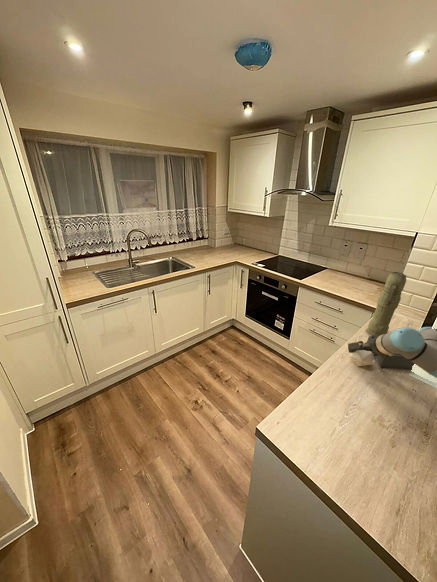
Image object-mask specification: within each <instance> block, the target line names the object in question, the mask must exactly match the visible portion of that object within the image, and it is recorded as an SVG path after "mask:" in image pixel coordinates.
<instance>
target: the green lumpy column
mask: <svg viewBox="0 0 437 582" xmlns="http://www.w3.org/2000/svg"><path fill="white" fill-rule="evenodd" d="M406 284H407V275H406V274H404V273H402V272H398V271H393V272H391V273H390V274H389V275H388V277H387V278H386V281H385V283H384V288H383V289H382V291H381V292H380V293H379V296H378V299H377V301H376V304H377V305H376V307H375V310H374V313H373V315H372V318H371V319H370V320H369V323H368V326H367V330H366V332H367V333H368V334H369V336H380V335H383V334H386V333H389V330H390V323H391V322H392V319H393V317H394V314H395V311H396V310H397V308H398V307H399V305H400V302H401V301H402V300H401V299H402V297H401V296H402V292H403V290H404V288H405V286H406Z"/></svg>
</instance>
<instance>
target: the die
mask: <svg viewBox="0 0 437 582" xmlns="http://www.w3.org/2000/svg"><path fill="white" fill-rule="evenodd" d="M349 357H350V358H351V359H352V360H353V362H354V363H355V364H356V365H357V366H358V367H363V366H364V367H365V366H370V365H373V362H374V358H373V357H374V354H373V353H372V352H371V351H365V350H356V351H355V352H351V353H350V356H349Z"/></svg>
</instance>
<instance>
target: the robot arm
mask: <svg viewBox="0 0 437 582" xmlns="http://www.w3.org/2000/svg"><path fill="white" fill-rule="evenodd" d="M432 327H433V326H424V327H421V328H419V329H416V328H412V327H401V328H396V329H394V330H392V331H388V332H387V333H386V334H383V335H380V336H377V337H375V338H373V340H372V341H371V342H367V341H365V342H364V341H363V340H359V341H356V342H355V341H354V342H350V343H347V350H348V353H349V354H351V352H355V351H356V350H365V351H371V352H372V353H373V354H374V356H379V355H380V356H381V357H384V356H392V355H393V354H401V355H402V356H404V357H405V358H407V359H408V360H410V361H412V362H413V363H414V364H416V365H415V366H417V367H419V368H420V369H422V370H423V371H424V372H426V373H427V374H428V375H429V376H432V377H434V378H436V379H437V329H435V328H434V327H433V328H434V329H432Z"/></svg>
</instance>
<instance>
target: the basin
mask: <svg viewBox="0 0 437 582" xmlns="http://www.w3.org/2000/svg"><path fill="white" fill-rule="evenodd" d="M375 337H377V336H372V335H369V336H368V338H367V341H366V342H371V341H372V340H373V338H375ZM373 360H375V362H376V363H377V364H378V365H379V367H380V368H389V369H402V370H413V369H412V366H413V365H414V363H413V362H412V361H410V360H408V359H407V358H405V357H404V356H402V355H401V354H393V355H392V356H384V357H381V356H380V355H379V356H374V357H373Z"/></svg>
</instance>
